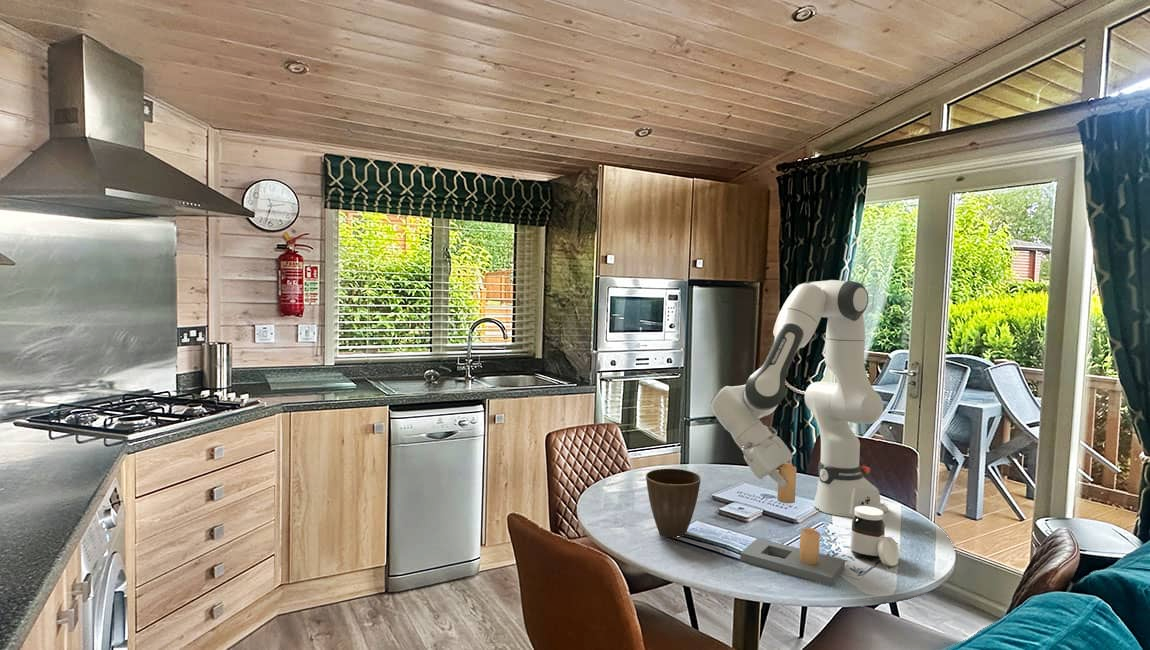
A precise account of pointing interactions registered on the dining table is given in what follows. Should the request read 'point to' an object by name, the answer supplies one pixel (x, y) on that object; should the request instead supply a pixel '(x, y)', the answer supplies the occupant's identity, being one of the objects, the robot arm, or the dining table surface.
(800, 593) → the dining table surface
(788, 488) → the orange peg
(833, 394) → the robot arm
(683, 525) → the plant pot
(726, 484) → the dining table surface
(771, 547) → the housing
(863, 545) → the spread jar
